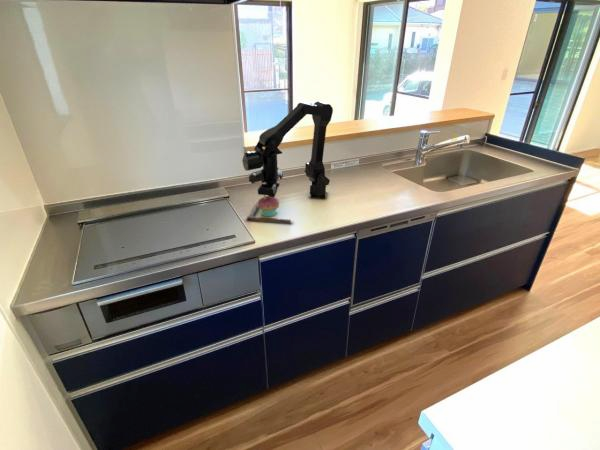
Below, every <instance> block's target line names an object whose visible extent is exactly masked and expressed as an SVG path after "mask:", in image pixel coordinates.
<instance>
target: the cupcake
mask: <svg viewBox="0 0 600 450" xmlns="http://www.w3.org/2000/svg"><path fill="white" fill-rule="evenodd" d="M257 203H258V209H259V210H260V211H261V214H262V215H263V216H264V217H274V216H275V214H276V210H277V209H278V208H279V207H280V201H279V200H278V198H276V197H275V198H274V197H272V196H268V195H263V197H260V198H259V199H258V201H257Z"/></svg>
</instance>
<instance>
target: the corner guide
mask: <svg viewBox="0 0 600 450" xmlns="http://www.w3.org/2000/svg"><path fill="white" fill-rule="evenodd" d="M258 209H259V208H258V202H256V203H255V205H254V207H253V208H252V210H251V212H250V214H249V215H248V216H247V217H246V221H247V222H259V223H272V224H283V225H284V224H285V225H291V223H292V219H290V218H279V217H277V218H275V217H265V216H264V217H262V216H255V214H256V213H257V212H258Z"/></svg>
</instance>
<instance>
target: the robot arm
mask: <svg viewBox="0 0 600 450" xmlns="http://www.w3.org/2000/svg"><path fill="white" fill-rule="evenodd" d="M333 113H334V108H333V106H332V105H331V104H330V103H327V102H323V101H319V100H318V101H315V102H304V101H300V102H299V103H297V105H296V107H294V108H293V109H292V110H291V111H290V112H289V113H288V114H287V115H286V116H285V117H284V118H283V119H282V120H280V121H279V122H278V123H277V124H276V125H274V126H273V127H270V128H268V129H267V130H265V131H263V132H262V133H261V134H260V135H259V136H258V141H257V143H256V144H255V147H254V148H253V151H244V152H243V156H242V161H241V162H242V167H243V169H244V170H245V171H253V170H256V171H253V172H251V173H250V174H249V175H248V182H249V183H251V184H252V185H253V184H256V183H259V182H261V184H260V185H259V187H258V189H257V195H258V196H264V195H265V196H272V197H274V198H276V195H277V192H278V191H279V187H280V185H281V184H280V182H278V181H279V180H282V179H283V178H284V173H283V172H282V171H281V170H279V167H280V166H279V165H278V155H282V154H283V151H281V150H280V149H279V146H280V145H281V144H282V143H283V140H284V138H285V136H286V135H287V134H288V133H289V132H290V131H291V130H292V129H293V128H294V127H295V126H296V125H297V124H298V123H300V121H302V119H303V118H304V117H306V116H307V115H311V118H312V121H313V124H314V126H313V135H312V145H311V156H310V160H309V162H306V163H305V165H304V166H305V168H304V173H305V176H306V177H307V178H308V180H309V181H310V182H311V184H310V186H309V195H310V199H321V200H322V199H323V200H325V199H326V198H327V197H326V196H327V186H329V185H330V182H331V181H330V180H331V179H329V178H328V177H327V176H326V169H325V164H324V162H323V161H324V160H323V159H324V153H325V152H324V151H325V143H326V136H327V135H326V134H327V127H328V125H329V124H330V122H331V121H332V117H333ZM257 169H259V170H257Z"/></svg>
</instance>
